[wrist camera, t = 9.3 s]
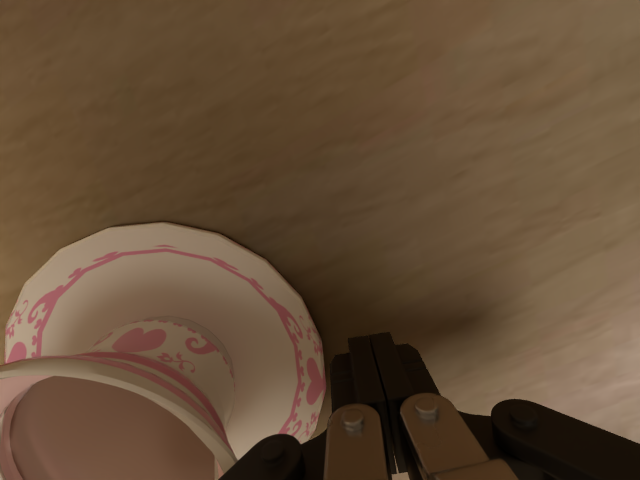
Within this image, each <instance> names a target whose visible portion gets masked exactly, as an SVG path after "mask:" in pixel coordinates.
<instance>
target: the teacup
mask: <svg viewBox="0 0 640 480" xmlns="http://www.w3.org/2000/svg"><path fill="white" fill-rule="evenodd" d="M325 391H326V378H325V368H324V358H323V347H322V339H321V337H320V335H319V333H318V331H317V329H316V327H315V324H314V322H313V320H312V318H311V316H310V314H309V312H308V309H307V307H306V305H305V303H304V301H303V299H302V297H301V296H300V295H299V294H298V293H297V292H296V290H295V289H294V288H293V287H292V286H291V285H290V284H289V283H288V282H287V281H286V280H285V279H284V278H283V277H282V276H281V275H280V274H279V273H278V271H277V270H276V269H275V268H274V267H273V266H272V265H271V264H270V263H269V262H268V261H267V260H266V259H264V258H262V257H261V256H259V255H257V254H255V253H253V252H252V251H250V250H248V249H246V248H244V247H243V246H241V245H239V244H237V243H236V242H234V241H232V240H230V239H228V238H227V237H225V236H223V235H221V234H219V233H215V232H210V231H206V230H201V229H197V228H192V227H187V226H183V225H178V224H174V223H169V222H157V223H146V224H135V225H125V226H114V227H109V228H107V229H104V230H102V231H100V232H98V233H95V234H93V235H91V236H89V237H86V238H84V239H82V240H80V241H77V242H75V243H73V244H71V245H68V246H66V247H64V248H62V249H59V250H58V251H57V252H56V253H55V254H54V255H53V256H52V257H51V258H50V259H49V260H48V261H47V262H46V263H45V264H44V265H43V266H42V267H41V268H40V269H39V270H38V271H37V272H36V273H35V274H34V275H33V276H32V277H31V278H30V279H29V280H28V281H27V282H26V283H25V284H24V286H23V288H22V291H21V293H20V295H19V297H18V300H17V302H16V304H15V306H14V309H13V311H12V313H11V316H10V318H9V320H8V322H7V325H6V334H5V361H4V364H3V365H0V480H218V479H219V478H220V477H221V476H222V475H223V474H224V473H226V472H227V471H228V470H229V469H230V468H231V467H232V466H233V465H234V464H235V463H236V462H237V461H238V460H239V459H240V458H241V457H242V456H244V455H245V454H246V453H247V452H248V451H249V450H250V449H251V448H252V447H253V446H254V445H255V444H256V443H258V442H259V441H261V440H262V439H264V438H266V437H268V436H271V435H275V434H289V435H292V436H294V437H295V438H296V439H297V440H298V441H299V442H300V444H302V443H305V442H307V441H308V440H309V438H310V437H311V435H312V434H313V432H314V431H315V429H316V426H317V422H318V418H319V414H320V410H321V407H322V403H323V399H324V395H325Z"/></svg>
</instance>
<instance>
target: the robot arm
mask: <svg viewBox="0 0 640 480" xmlns="http://www.w3.org/2000/svg"><path fill="white" fill-rule="evenodd" d="M369 339H370V342H369ZM348 343H349V350H350V353H345V354H338V355H335V356H334V358H333V360H332V361H331V363H330V380H331V400H332V415H331V416H330V417H329V420H328V424H327V429H326V430H325V431H324V432H323V433H322V434H320V435H319V436H317V437H316V438H314V439H312V440H309V441H307V442H305V443H302V444H300V442H299V441H298V440H297V439H296V438H295V437H294V436H292V435H289V434H275V435H271V436H268V437H266V438H264V439H262V440H261V441H259V442H258V443H256V444H255V445H254V446H253V447H252V448H251V449H250V450H249V451H248V452H247V453H246V454H245V455H244V456H242V457H241V458H240V459H239V460H238V461H237V462H236V463H235V464H234V465H233V466H232V467H231V468H230V469H229V470H228V471H227V472H226V473H224V474H223V475H222V476H221V477H220V478H219V479H218V480H392V474H397V471H396V465H395V459H396V463H397V467H398V471H399V473H404V472H408V475H409V479H410V480H640V444H639V443H636V442H634V441H631V440H628V439H626V438H623V437H621V436H618V435H616V434H613V433H611V432H608V431H605V430H603V429H600V428H598V427H595V426H593V425H590V424H588V423H585V422H583V421H580V420H577V419H575V418H572V417H570V416H567V415H565V414H562V413H560V412H557V411H555V410H552V409H549V408H547V407H544V406H542V405H539V404H537V403H534V402H531V401H527V400H521V399H509V400H504V401H502V402H499V403H498V404H496V405H495V406H494V407H493V409H492V411H491V416H483V415H473V414H467V413H463V412H460V411H458V410H456V408H455V407H454V405H453V404H452V403H451V402H450V401H449V400H448V399H446V398H445V397H443V396H441V395H440V393H439V391H438V389H437V387H436V385H435V383H434V381H433V379H432V378H431V376H430V374H429V372H428V370H427V369H426V366H425V364H424V362H423V361H422V358H421V356H420V354H419V352H418V350H416V349H415V348H413V347H412V346H411V345H409V344H408V343H407V344H401V345H395V344H394V341H393V339H392V336H391V334H390V332H384V333H378V334H372V335H369V338H368V335H366V336H360V337H354V338H348ZM393 451H394V452H393ZM394 455H395V458H394Z"/></svg>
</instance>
